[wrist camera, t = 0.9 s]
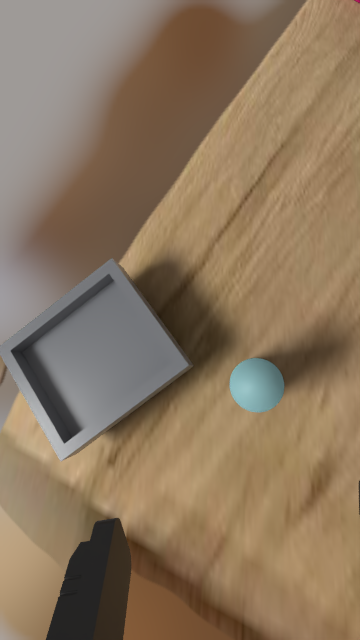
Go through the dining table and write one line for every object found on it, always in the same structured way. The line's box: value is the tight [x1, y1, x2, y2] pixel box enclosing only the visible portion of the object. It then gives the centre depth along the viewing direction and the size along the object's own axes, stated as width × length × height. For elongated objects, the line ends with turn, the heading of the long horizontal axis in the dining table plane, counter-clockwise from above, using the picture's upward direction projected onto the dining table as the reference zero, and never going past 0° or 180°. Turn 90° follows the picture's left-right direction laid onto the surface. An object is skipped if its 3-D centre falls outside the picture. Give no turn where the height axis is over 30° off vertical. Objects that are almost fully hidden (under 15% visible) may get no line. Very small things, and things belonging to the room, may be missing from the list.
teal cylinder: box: [230, 358, 284, 412], centre depth 33 cm, size 4×4×10 cm
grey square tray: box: [0, 258, 194, 461], centre depth 38 cm, size 16×14×6 cm
